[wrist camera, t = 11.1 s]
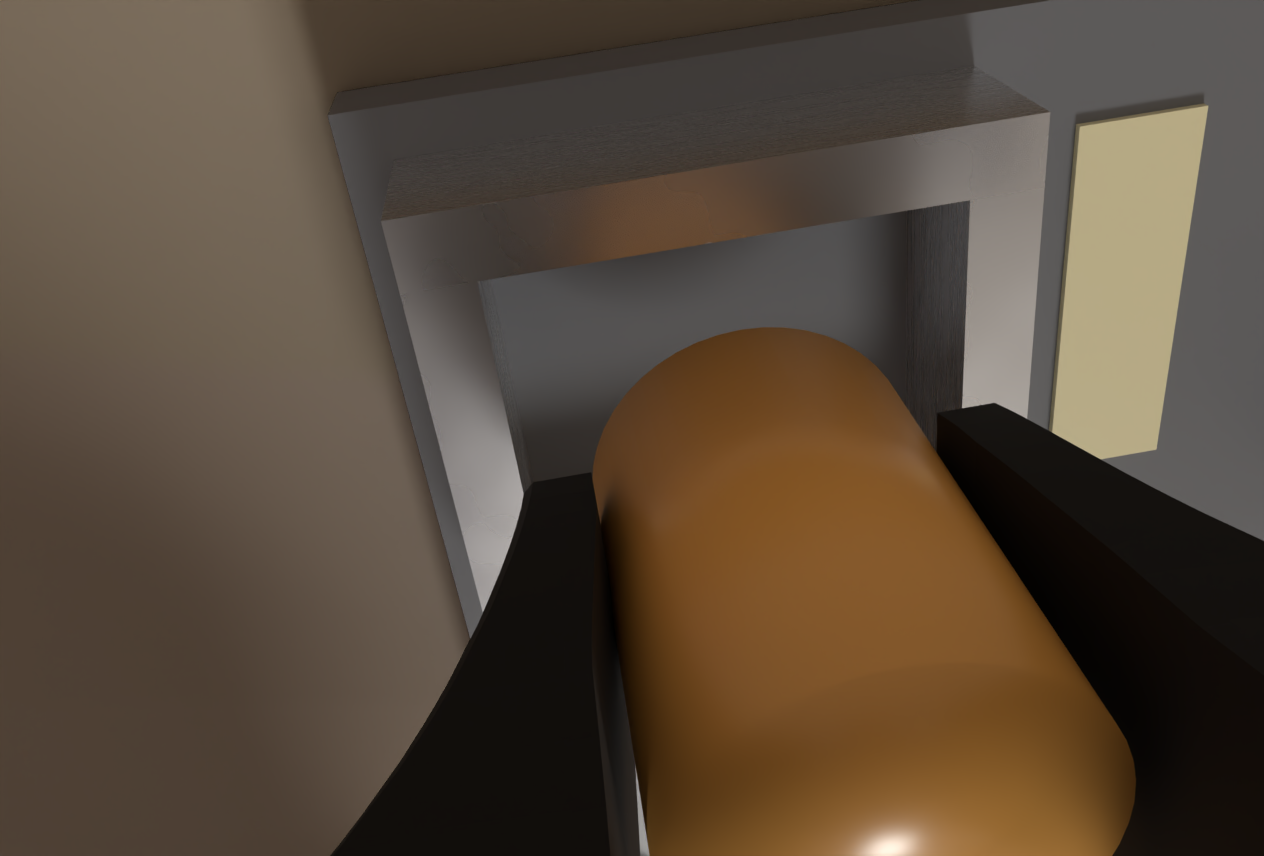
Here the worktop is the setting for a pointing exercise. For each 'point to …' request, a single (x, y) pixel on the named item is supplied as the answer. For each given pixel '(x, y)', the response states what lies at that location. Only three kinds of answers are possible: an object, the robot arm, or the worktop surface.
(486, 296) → the frame
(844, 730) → the cap
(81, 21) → the worktop surface
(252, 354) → the worktop surface
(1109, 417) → the breaker panel
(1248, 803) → the robot arm
